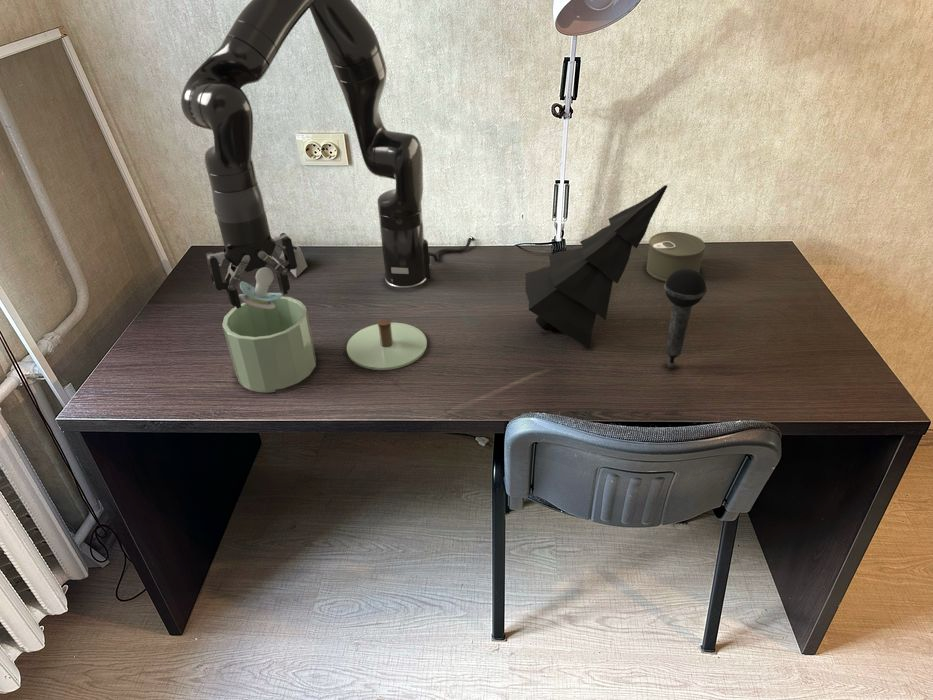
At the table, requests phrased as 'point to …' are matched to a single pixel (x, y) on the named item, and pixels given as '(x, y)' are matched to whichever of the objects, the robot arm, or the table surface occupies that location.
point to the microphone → (681, 306)
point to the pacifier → (260, 290)
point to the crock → (270, 344)
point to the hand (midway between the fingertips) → (261, 299)
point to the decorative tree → (587, 273)
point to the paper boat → (299, 259)
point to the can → (673, 253)
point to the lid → (386, 345)
